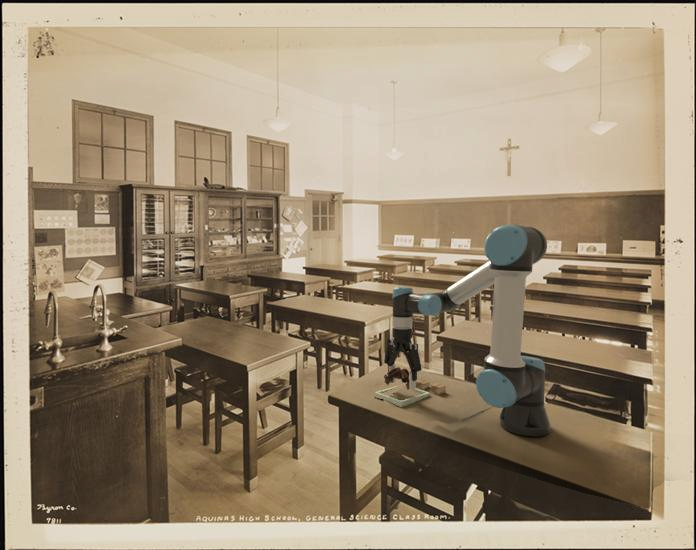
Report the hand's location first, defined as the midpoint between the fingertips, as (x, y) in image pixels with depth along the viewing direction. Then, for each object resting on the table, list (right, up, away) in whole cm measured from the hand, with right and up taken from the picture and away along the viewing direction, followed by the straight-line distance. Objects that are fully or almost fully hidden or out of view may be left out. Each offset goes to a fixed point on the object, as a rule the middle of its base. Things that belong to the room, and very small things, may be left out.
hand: (402, 385), depth 156 cm
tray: (0, -5, 0) cm, 5 cm away
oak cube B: (+9, -5, +8) cm, 13 cm away
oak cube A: (+15, -5, +3) cm, 16 cm away
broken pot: (+1, -1, 0) cm, 2 cm away
